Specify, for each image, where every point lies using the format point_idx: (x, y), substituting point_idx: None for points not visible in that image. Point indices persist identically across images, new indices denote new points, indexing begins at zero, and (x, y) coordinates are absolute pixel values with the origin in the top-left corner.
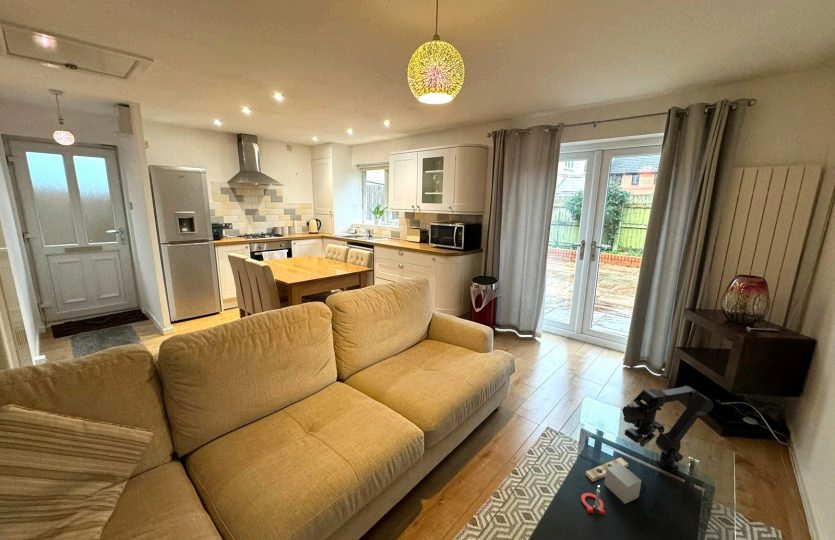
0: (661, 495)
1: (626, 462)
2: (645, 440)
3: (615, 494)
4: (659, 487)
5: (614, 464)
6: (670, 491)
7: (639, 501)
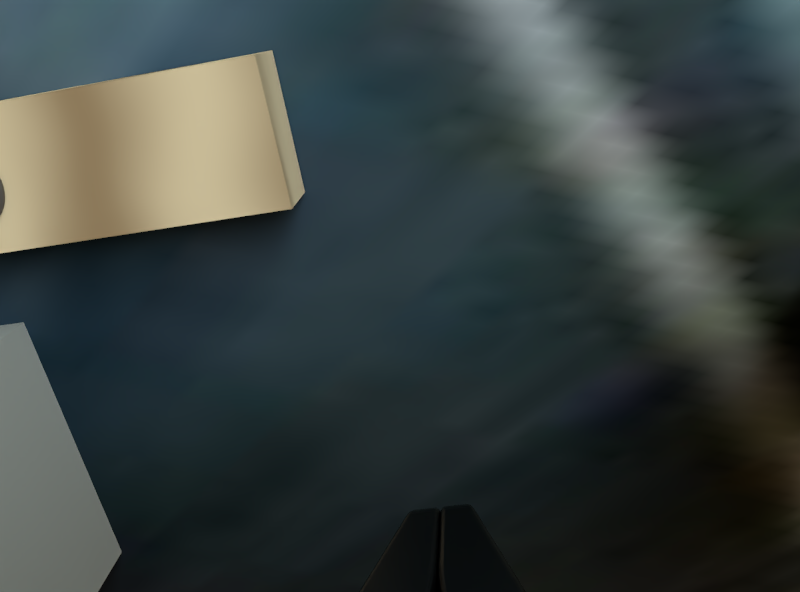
0: None
1: (275, 182)
2: None
3: None
4: None
5: (45, 172)
6: (526, 580)
7: None
